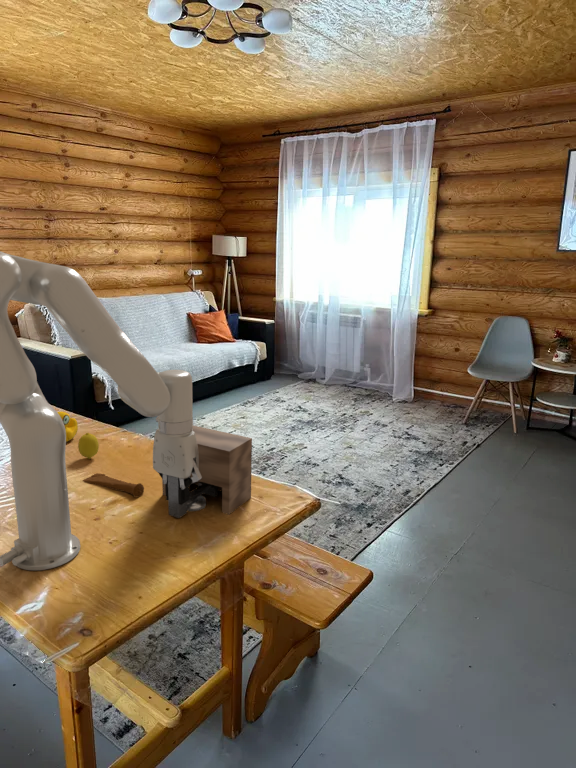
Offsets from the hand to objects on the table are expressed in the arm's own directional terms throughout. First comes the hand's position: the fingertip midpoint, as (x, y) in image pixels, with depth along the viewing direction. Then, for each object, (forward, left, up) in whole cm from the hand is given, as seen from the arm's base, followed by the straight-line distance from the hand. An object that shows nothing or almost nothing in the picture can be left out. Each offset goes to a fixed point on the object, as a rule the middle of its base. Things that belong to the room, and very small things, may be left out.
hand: (177, 499), depth 123 cm
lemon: (+13, +43, -4) cm, 45 cm away
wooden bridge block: (+11, 0, -4) cm, 12 cm away
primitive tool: (+4, +24, -5) cm, 25 cm away
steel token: (+6, 0, -5) cm, 8 cm away
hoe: (+6, 0, -4) cm, 7 cm away
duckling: (+19, +60, -4) cm, 63 cm away
